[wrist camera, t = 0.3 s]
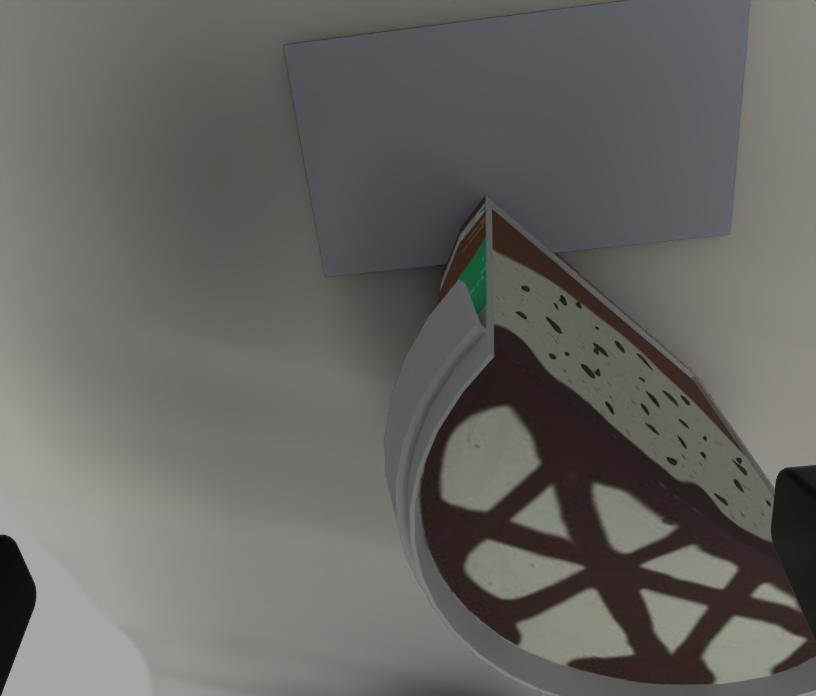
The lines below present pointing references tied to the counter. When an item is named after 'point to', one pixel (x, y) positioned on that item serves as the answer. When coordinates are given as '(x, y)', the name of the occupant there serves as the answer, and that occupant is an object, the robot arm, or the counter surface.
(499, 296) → the food container
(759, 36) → the counter surface
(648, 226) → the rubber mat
